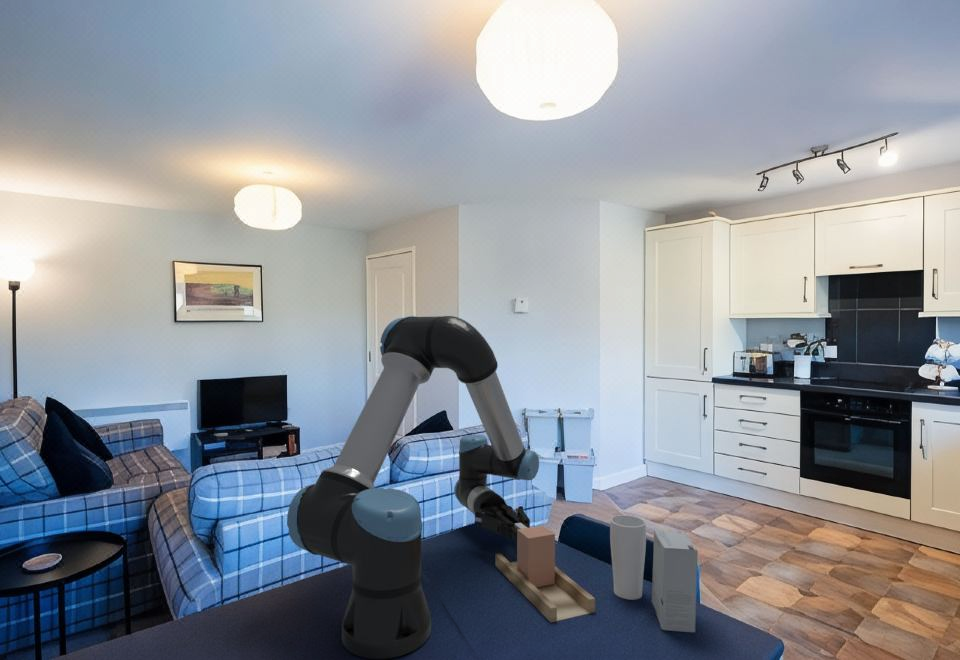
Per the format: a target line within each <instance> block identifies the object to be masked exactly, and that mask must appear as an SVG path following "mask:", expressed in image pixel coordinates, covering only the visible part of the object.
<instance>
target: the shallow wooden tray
mask: <svg viewBox="0 0 960 660" xmlns="http://www.w3.org/2000/svg"><path fill="white" fill-rule="evenodd" d="M494 557H495V558H494V559H495V567H496V568H497V569H498V570H499V571H500V572H501V573H502V574H503V575H504V577H506V578H507V579H508V580H509V582H511V583H512V584H513V586H515V588H517V590H518V591H519V592H521V593H522V594H523V596H524V597H525V598H526V599H528V601H529V602H530V603H531V604H532V605H534V607H535V608H536V609H537V610H538V611H539V612H540V613H541V614H542V615H543V616H544V617H545V618H546V619H547V620H548V621H549V622H550V623H555V622H560V621H563V620H568V619H571V618H572V619H573V618H576V617H579V616H580V617H581V616H585V615H588V614H593V613H595V612H596V598H595V597H594V596H593V595H592V594H591V593H589V592H588V591H587V590H585V589H584V588H583V587H582V586H581V585H579V584H578V583H576V582H575V581H574V580H573V579H571V578H570V577H569V576H568V575H567V574H566V573H564V572H563V570H561V569H559V568H558V567H557V566H556V565H555V584H552V585H547V586H542V587H537V588H536V587H535V586H534V585H533V584H532V583H531V582H530V581H529V580H528V579H527V578H526V577H525V576H524V575H523V574H521V573H520V572H519V571H518V570H517V560H515V561H512V562H510V560H508V559H507V558H506V557H505V556H504V555H502V553H495V556H494Z"/></svg>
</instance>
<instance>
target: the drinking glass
mask: <svg viewBox="0 0 960 660" xmlns="http://www.w3.org/2000/svg"><path fill="white" fill-rule="evenodd" d="M609 526H610V527H609V540H610V541H609V542H610V555H611V565H612V576H613V577H612V578H613V579H612V581H613V593H614V594H615V595H616V597H619V598H621V599H625V600H638V599H641V598H642V596H643V584H644V571H645V560H646V559H645V558H646V547H647V529H646V528H647V526H646V521H645V520H644V519H642V518H640V517H638V516H634V515H629V514H628V515H627V514H626V515H625V514H620V515H619V514H618V515H614V516H612V517H610V523H609Z"/></svg>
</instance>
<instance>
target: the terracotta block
mask: <svg viewBox="0 0 960 660" xmlns="http://www.w3.org/2000/svg"><path fill="white" fill-rule="evenodd" d="M516 540H517V541H516V546H517V547H516V549H517V550H516V552H517V553H516V561H517V570H518V571H519V572H520V573H521V574H523V575H524V576H525V577H526V578H527V579H528V580H529V581H530V582H531V583H532V584H533V585H534V586H535V587H536V588H537V587H542V586H547V585H552V584H555V566H556V533H554V532H553V531H552V530H550V529H549V528H547V527H545V526H544V525H538V526H532V527H531V526H530V528H524V529H517V539H516Z"/></svg>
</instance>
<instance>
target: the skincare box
mask: <svg viewBox="0 0 960 660" xmlns="http://www.w3.org/2000/svg"><path fill="white" fill-rule="evenodd" d="M698 553H699V552H698V549H697V548H696V547H695V545H694V544H693V542H692V539H691V538H689V536H687V534H686V532H684V531H683V530H668V529H667V530H665V529H653V558H652V560H653V561H652V585H651V590H652V591H651V603H652V605H653V608H654V610H655V611H654V613H655V615H656V617H657V620H658V623H659V625H660V628H661V630H662V631H669V632H670V631H672V632H681V633H682V632H683V633H696V614H697V613H696V611H697V587H698V586H697V585H698V584H697V583H698Z"/></svg>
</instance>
